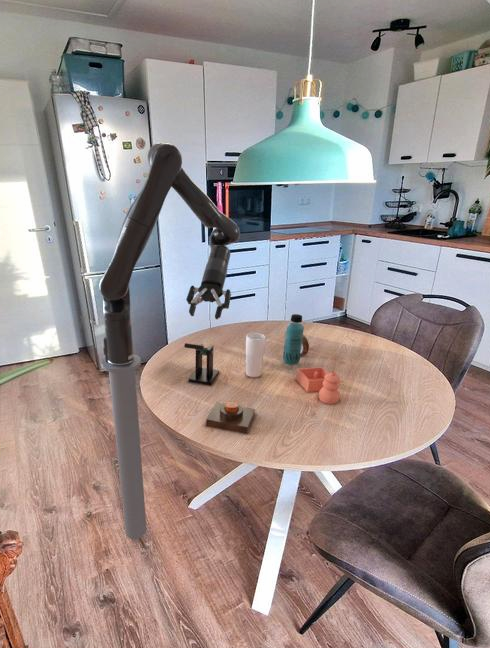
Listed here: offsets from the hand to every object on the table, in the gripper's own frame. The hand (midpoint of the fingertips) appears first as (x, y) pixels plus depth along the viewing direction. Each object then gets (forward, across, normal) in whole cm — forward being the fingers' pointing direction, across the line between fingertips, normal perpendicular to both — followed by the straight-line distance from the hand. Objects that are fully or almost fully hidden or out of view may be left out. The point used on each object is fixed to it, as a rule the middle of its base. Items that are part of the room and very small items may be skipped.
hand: (203, 316), depth 126 cm
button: (+29, +16, -2) cm, 33 cm away
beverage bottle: (+1, +28, +32) cm, 42 cm away
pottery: (+13, +40, +20) cm, 46 cm away
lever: (+11, 0, +5) cm, 12 cm away
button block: (+32, +16, +1) cm, 36 cm away
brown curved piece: (-9, +28, +42) cm, 51 cm away
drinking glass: (+10, +16, +23) cm, 29 cm away
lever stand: (+15, 0, +17) cm, 23 cm away
